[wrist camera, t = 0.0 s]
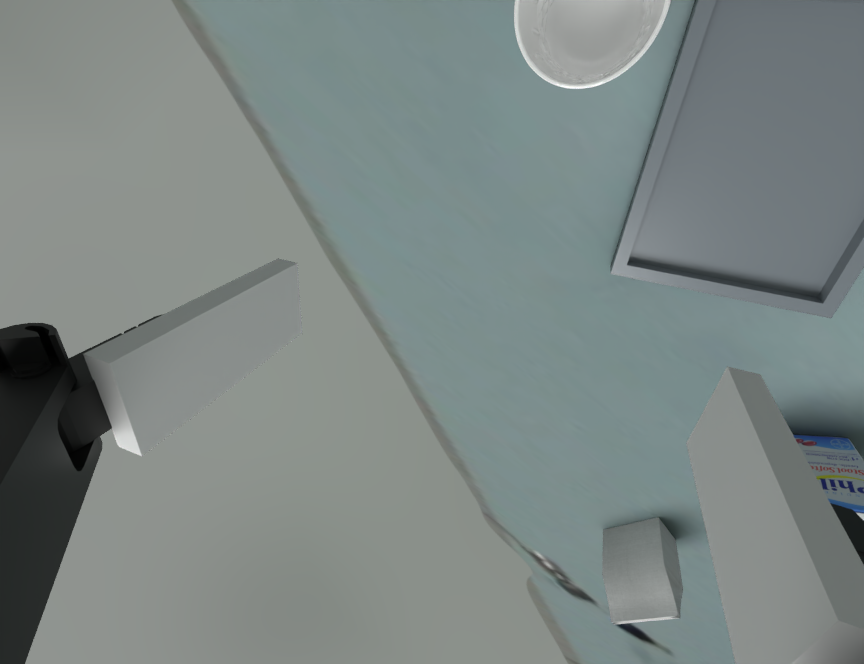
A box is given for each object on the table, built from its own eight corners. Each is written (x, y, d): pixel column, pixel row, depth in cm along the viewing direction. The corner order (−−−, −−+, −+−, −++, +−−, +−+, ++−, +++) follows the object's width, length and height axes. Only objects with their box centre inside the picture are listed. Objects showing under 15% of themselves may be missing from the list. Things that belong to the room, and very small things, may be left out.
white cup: (639, -72, 28) (652, -143, 20) (667, 57, 30) (689, 42, 22) (523, -1, 32) (493, -35, 23) (556, 109, 34) (539, 113, 26)
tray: (702, -22, 28) (707, -29, 26) (1017, -11, 24) (1044, -18, 22) (610, 266, 38) (610, 273, 37) (821, 308, 34) (831, 318, 33)
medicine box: (849, 435, 38) (905, 515, 31) (839, 474, 40) (890, 558, 32) (740, 429, 41) (769, 500, 34) (736, 465, 43) (762, 540, 35)
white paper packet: (603, 529, 52) (601, 611, 44) (658, 517, 49) (668, 603, 40) (619, 550, 53) (621, 634, 45) (675, 539, 49) (689, 629, 41)
